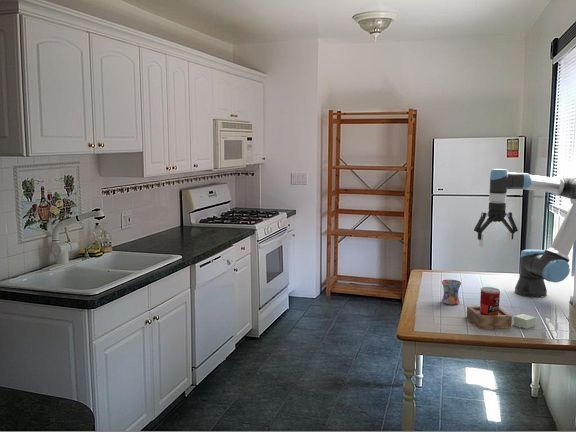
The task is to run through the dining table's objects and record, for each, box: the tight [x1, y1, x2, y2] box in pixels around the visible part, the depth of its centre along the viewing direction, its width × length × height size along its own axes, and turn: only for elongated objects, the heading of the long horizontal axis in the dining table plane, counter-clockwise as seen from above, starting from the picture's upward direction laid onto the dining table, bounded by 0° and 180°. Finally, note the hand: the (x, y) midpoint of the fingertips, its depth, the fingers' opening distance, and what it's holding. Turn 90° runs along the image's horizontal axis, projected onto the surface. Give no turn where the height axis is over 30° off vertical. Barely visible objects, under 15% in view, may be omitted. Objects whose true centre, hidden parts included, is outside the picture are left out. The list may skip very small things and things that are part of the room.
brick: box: [513, 313, 536, 330], centre depth 235 cm, size 6×6×4 cm
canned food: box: [479, 286, 501, 315], centre depth 237 cm, size 8×8×11 cm
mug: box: [441, 279, 462, 306], centre depth 267 cm, size 12×9×11 cm
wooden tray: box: [466, 305, 513, 329], centre depth 238 cm, size 14×14×5 cm
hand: (494, 246), depth 260 cm, fingers open, 13 cm apart
